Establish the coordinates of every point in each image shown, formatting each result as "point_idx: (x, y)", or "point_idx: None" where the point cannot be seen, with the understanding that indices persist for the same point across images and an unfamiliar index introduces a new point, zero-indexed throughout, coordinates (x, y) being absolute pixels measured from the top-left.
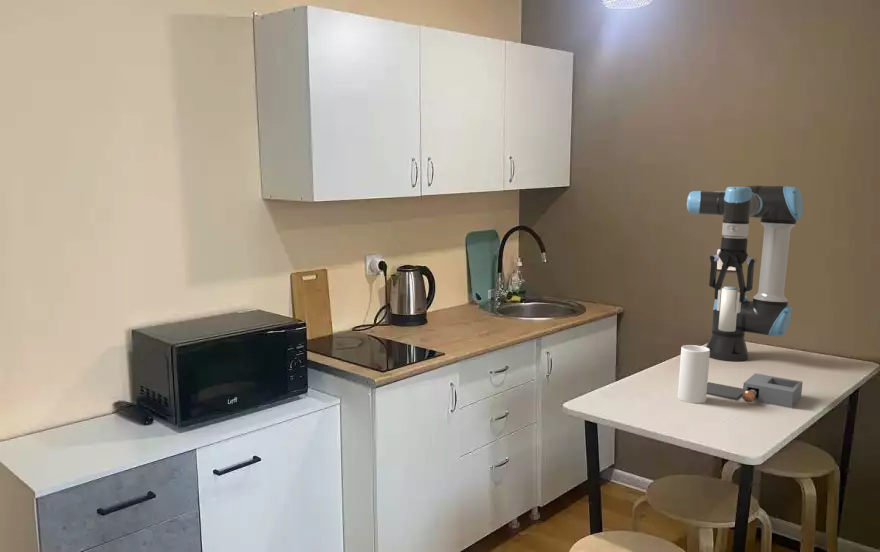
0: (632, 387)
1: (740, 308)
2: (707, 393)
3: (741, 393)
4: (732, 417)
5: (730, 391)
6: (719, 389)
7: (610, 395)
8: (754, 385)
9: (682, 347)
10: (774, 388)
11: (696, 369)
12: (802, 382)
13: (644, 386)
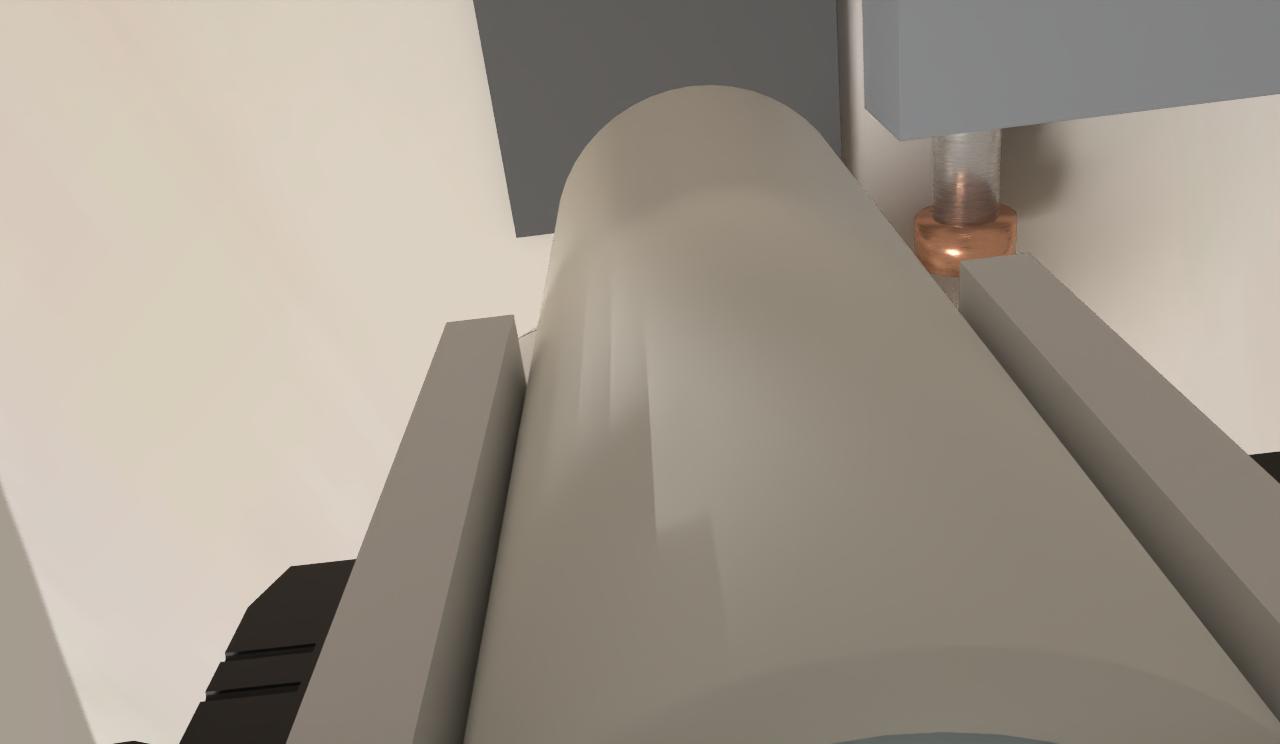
0: (132, 480)
1: (1070, 310)
2: None
3: (833, 21)
4: None
5: (736, 36)
6: (639, 55)
7: (183, 711)
8: (1000, 128)
9: None
10: (1187, 103)
11: None
12: None
13: (164, 396)
